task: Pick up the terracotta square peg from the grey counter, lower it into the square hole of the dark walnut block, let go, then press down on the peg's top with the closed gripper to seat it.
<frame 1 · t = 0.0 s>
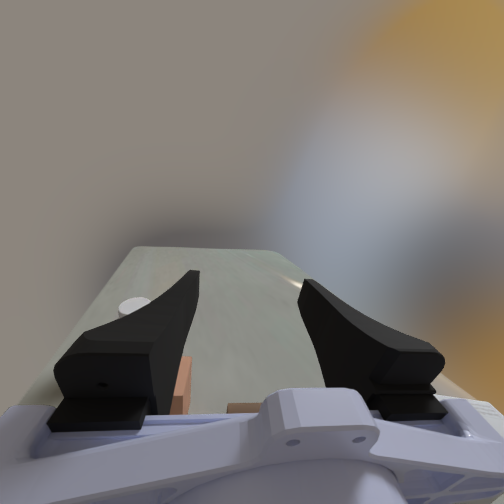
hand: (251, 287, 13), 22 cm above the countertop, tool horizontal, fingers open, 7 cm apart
terracotta peg: (167, 420, 23), on the countertop
walnut socket block: (295, 500, 19), on the countertop
supplement bottle: (139, 356, 31), on the countertop
skincare box: (418, 490, 21), on the countertop
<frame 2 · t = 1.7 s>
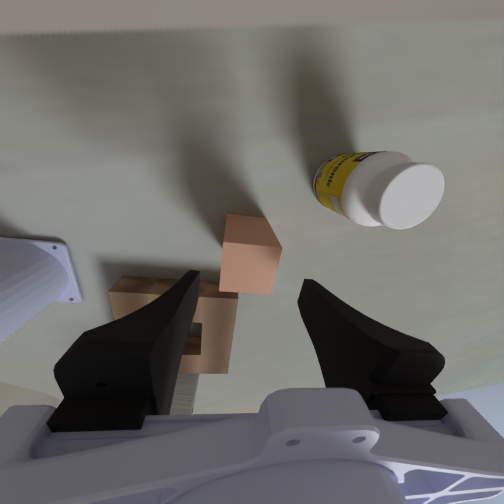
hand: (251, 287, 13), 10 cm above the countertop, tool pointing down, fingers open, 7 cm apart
terracotta peg: (244, 234, 22), on the countertop
walnut socket block: (183, 321, 27), on the countertop
supplement bottle: (335, 181, 21), on the countertop
skincare box: (184, 379, 33), on the countertop
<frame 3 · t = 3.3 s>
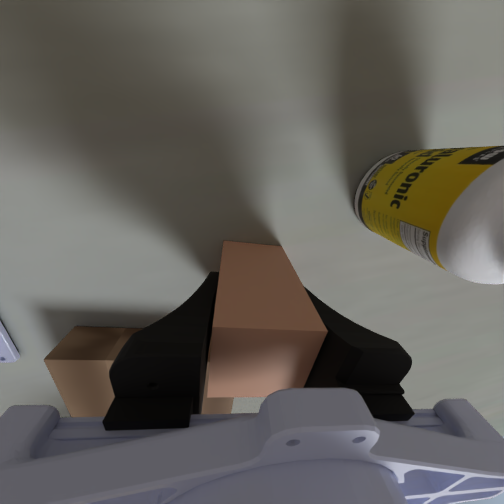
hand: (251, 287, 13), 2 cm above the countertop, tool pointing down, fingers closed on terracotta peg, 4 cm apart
terracotta peg: (249, 268, 15), on the countertop, touching gripper
walnut socket block: (165, 377, 20), on the countertop
supplement bottle: (386, 193, 14), on the countertop
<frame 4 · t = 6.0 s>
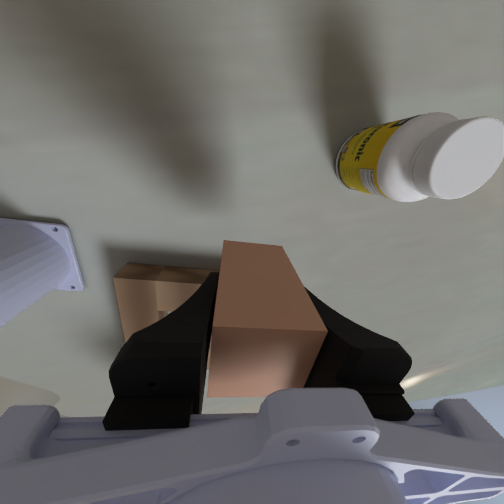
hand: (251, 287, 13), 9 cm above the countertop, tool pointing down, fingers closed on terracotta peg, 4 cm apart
terracotta peg: (249, 268, 15), point 7 cm above the countertop, touching gripper
walnut socket block: (190, 313, 26), on the countertop
supplement bottle: (359, 160, 19), on the countertop
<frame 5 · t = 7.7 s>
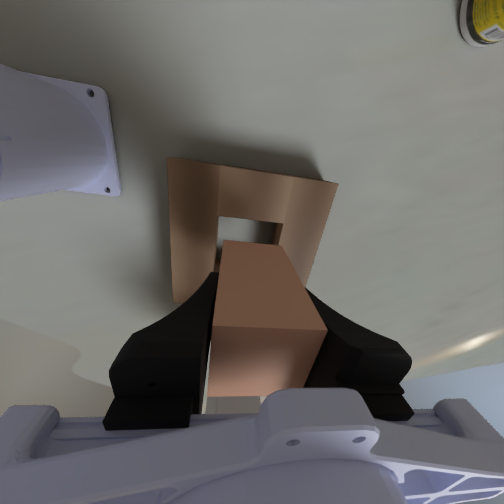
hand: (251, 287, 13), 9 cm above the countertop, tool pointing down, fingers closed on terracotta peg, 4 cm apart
terracotta peg: (249, 268, 15), point 6 cm above the countertop, touching gripper
walnut socket block: (245, 238, 21), on the countertop
supplement bottle: (489, 2, 14), on the countertop
skincare box: (232, 328, 27), on the countertop
when the fingers open (4 cm above the countertop, at t = 9.2 s): terracotta peg drops 1 cm, resting in walnut socket block.
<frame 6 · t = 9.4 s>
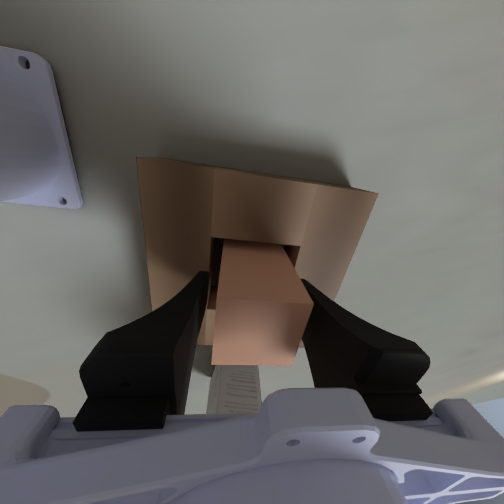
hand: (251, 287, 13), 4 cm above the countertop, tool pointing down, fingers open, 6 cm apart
terracotta peg: (248, 259, 17), resting in walnut socket block
walnut socket block: (248, 259, 16), on the countertop
skincare box: (232, 362, 23), on the countertop
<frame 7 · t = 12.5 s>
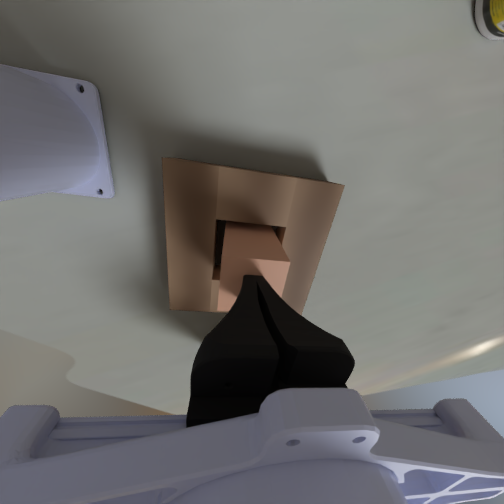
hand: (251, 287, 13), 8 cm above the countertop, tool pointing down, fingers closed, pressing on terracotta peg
terracotta peg: (245, 241, 20), resting in walnut socket block, touching gripper
walnut socket block: (245, 241, 20), on the countertop
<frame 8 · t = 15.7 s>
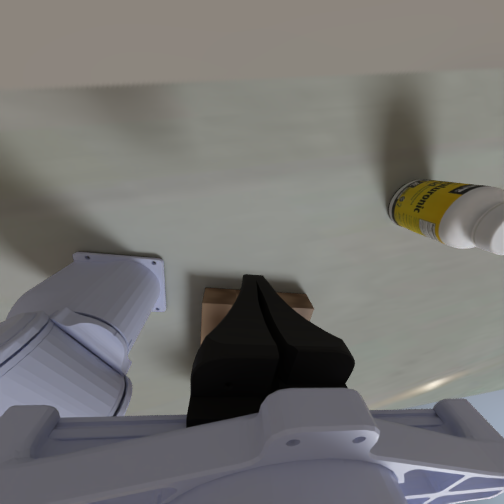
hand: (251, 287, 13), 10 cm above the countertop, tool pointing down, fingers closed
walnut socket block: (250, 328, 29), on the countertop
supplement bottle: (407, 202, 23), on the countertop
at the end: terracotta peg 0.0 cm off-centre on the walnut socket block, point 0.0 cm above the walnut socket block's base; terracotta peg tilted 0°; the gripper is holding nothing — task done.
